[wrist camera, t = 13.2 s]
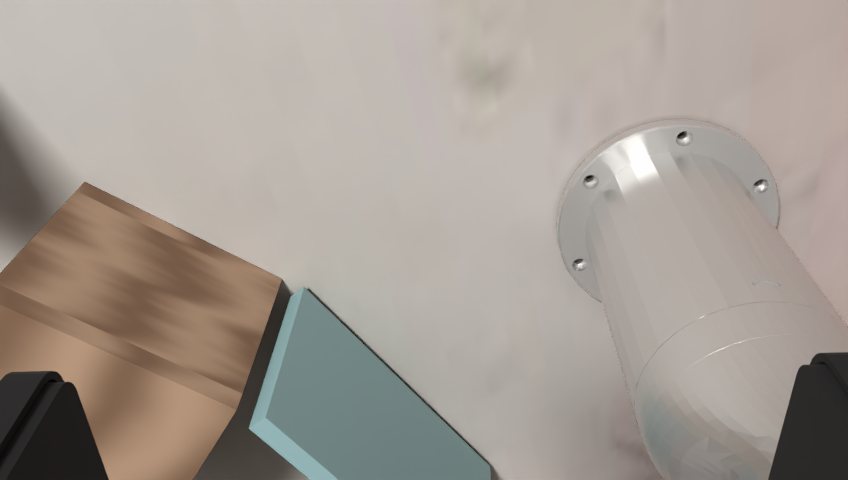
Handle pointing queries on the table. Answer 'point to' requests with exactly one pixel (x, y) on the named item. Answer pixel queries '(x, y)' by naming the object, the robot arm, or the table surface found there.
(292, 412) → the door
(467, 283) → the table surface
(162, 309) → the cabinet
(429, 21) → the table surface
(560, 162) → the table surface
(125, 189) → the table surface
